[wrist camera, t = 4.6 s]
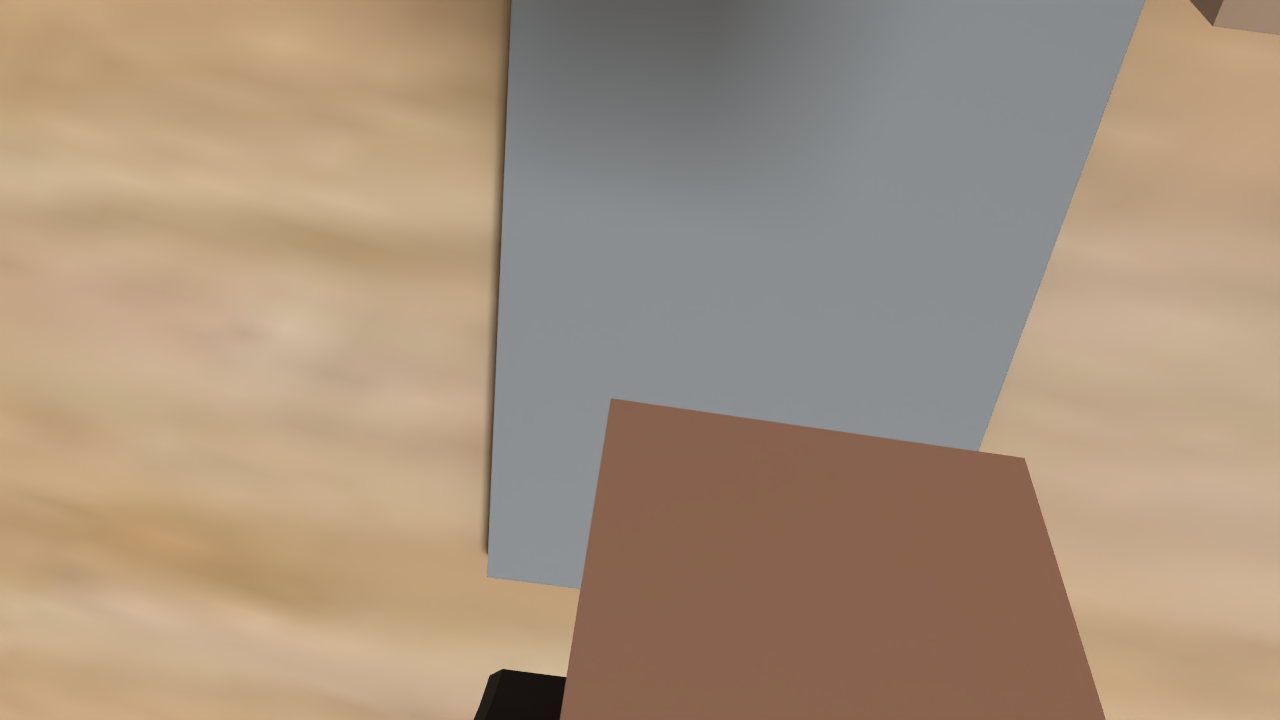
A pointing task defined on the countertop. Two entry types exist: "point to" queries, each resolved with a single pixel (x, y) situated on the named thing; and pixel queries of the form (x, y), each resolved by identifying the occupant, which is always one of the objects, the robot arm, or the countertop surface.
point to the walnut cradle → (1242, 14)
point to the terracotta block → (816, 580)
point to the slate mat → (773, 223)
